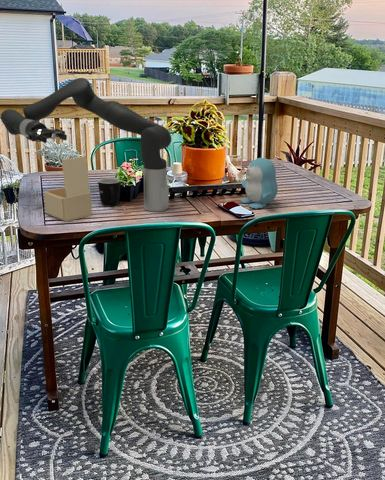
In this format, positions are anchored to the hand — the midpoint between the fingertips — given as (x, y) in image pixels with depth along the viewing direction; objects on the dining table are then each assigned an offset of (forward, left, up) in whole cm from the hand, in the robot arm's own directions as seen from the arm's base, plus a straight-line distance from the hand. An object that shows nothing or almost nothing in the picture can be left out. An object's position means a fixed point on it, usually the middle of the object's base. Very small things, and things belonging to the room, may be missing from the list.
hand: (56, 138), depth 186 cm
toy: (-68, -47, -29) cm, 88 cm away
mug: (-12, -17, -29) cm, 36 cm away
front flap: (-10, +3, -13) cm, 17 cm away
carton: (-4, +1, -29) cm, 29 cm away
